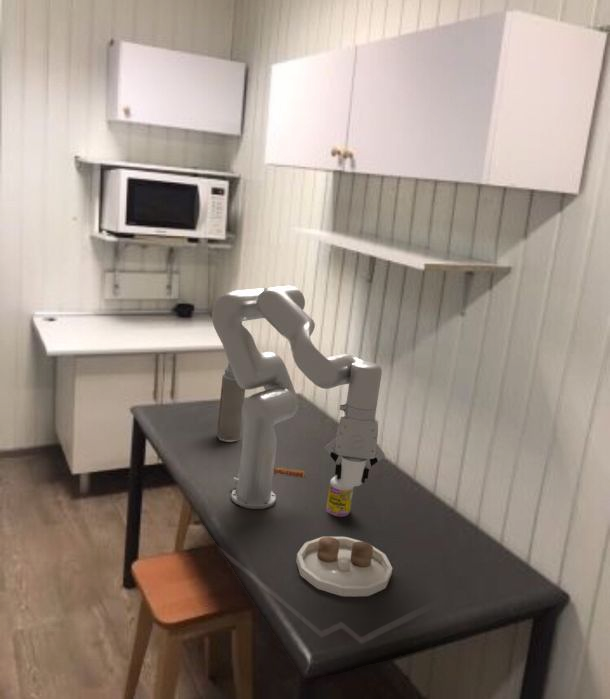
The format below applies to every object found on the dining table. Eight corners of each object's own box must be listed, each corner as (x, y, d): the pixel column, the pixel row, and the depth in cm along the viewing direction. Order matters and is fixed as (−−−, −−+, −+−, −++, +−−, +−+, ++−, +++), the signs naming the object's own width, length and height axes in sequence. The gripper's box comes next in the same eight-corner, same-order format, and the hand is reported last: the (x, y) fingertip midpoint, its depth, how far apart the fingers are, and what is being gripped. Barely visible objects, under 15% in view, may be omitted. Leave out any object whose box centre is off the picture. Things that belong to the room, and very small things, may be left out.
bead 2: (346, 559, 167) (348, 544, 166) (360, 554, 171) (362, 539, 170) (360, 569, 164) (362, 554, 163) (374, 563, 167) (377, 549, 166)
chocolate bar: (304, 479, 212) (304, 472, 211) (265, 474, 212) (266, 467, 212) (304, 475, 214) (305, 469, 214) (266, 470, 215) (267, 464, 214)
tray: (278, 562, 164) (279, 551, 164) (344, 538, 179) (345, 528, 178) (341, 611, 149) (343, 599, 148) (408, 581, 163) (410, 570, 162)
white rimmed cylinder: (362, 476, 177) (365, 451, 176) (365, 488, 171) (369, 462, 169) (335, 474, 177) (339, 449, 175) (338, 486, 170) (342, 460, 169)
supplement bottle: (322, 515, 190) (328, 472, 187) (330, 505, 196) (335, 464, 193) (345, 521, 188) (351, 478, 185) (352, 511, 194) (358, 470, 191)
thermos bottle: (214, 440, 232) (221, 360, 225) (220, 432, 240) (227, 355, 233) (237, 444, 231) (245, 364, 224) (242, 435, 239) (250, 358, 232)
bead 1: (312, 554, 168) (314, 540, 167) (327, 549, 171) (329, 534, 170) (326, 564, 164) (328, 549, 163) (341, 558, 167) (343, 544, 166)
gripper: (325, 412, 166) (316, 480, 170) (396, 421, 165) (385, 490, 170) (326, 402, 173) (317, 468, 178) (394, 411, 173) (383, 477, 177)
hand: (350, 478), depth 174 cm, fingers closed on white rimmed cylinder, 5 cm apart
